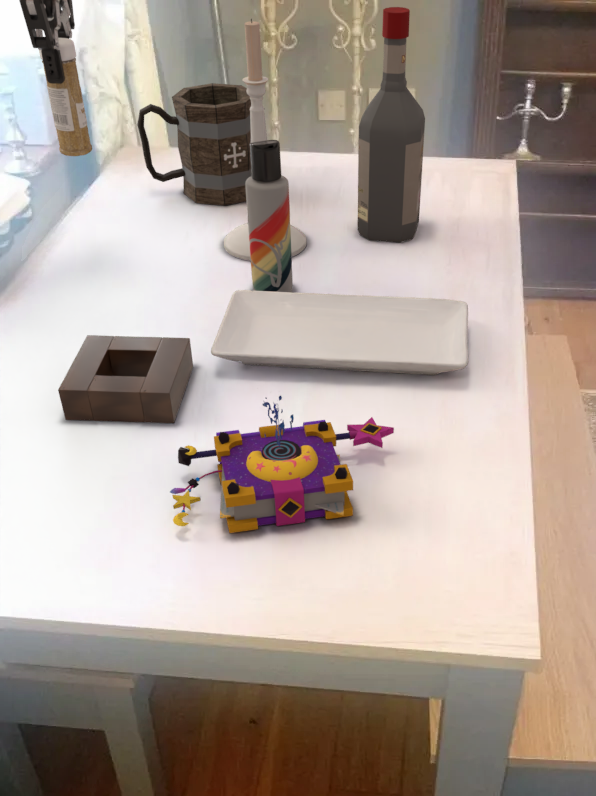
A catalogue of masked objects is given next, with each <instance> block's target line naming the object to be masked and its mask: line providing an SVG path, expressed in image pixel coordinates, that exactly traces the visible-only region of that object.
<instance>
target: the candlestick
mask: <svg viewBox="0 0 596 796" xmlns="http://www.w3.org/2000/svg"><path fill="white" fill-rule="evenodd" d="M244 36H245V51H246V54H245V55H246V65H247V66H246V67H247V69H246V70H247V76H245V77H243V78H242V82H243V83H244V84H245V85H246V88H247V90H246V92H247V94H248V95H249V96H250V100H251V107H250V124H251V143H253V142H260V141H266V140H268V133H267V123H266V113H265V107H264V103H263V99H264V95H265V94H266V87H265V86H266V83H267V82H268V81H269V78H268V77H267V76H263V63H262V46H261V45H262V44H261V26H260V22H259V21H253V18H251V19H250V21H246V22H244ZM290 230H291V255H292V257H295V256H297V255H298V254H300V253H302V252H303V251H304V250H305V248H306V247H307V236H306V235H305V233H304V232H303V231H302V230H300V229H299V228H298V227H296V226H295V225H292V224H290ZM223 247H224V250H225V252H227V254H229V256H233V257H235V258H237V259H239V260H244V261H249V262H251V257H250V243H249V229H248V222H246V223H245V222H244V223H243V224H241V225H238V226H236V227H234V228H233V229H231V230H230V231H229V232H228V233H227V235H225V237H224V239H223Z"/></svg>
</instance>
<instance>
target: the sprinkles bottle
mask: <svg viewBox="0 0 596 796" xmlns="http://www.w3.org/2000/svg"><path fill="white" fill-rule="evenodd" d="M58 40H59V50H60V54H61V59H62V65H63V70H64V76H65V81H64V82H63V83H62V84H53V83H49V82H48V81H47V78H46V73H45V68H44V63H43V58H42V53H41V50H39V49H38V52H39V53H38V54H39V58H40V59H41V63H42V65H43V70H44V76H45V81H46V88H47V94H48V99H49V104H50V109H51V113H52V118H53V123H54V128H55V130H56V135H57V140H58V145H59V148H58V149H59V153H60V154H62V155H63V156H66V157H81V156H86V155H88V154H90V153H91V152H92V151H93V145H92V144H91V137H90V133H89V127H88V119H87V114H86V108H85V103H84V98H83V97H84V96H83V92H82V87H81V84H80V79H79V73H78V67H77V50H76V46H75V42H74V40H72V38H69V39H68V38H58Z"/></svg>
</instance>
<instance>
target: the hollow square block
mask: <svg viewBox="0 0 596 796" xmlns="http://www.w3.org/2000/svg"><path fill="white" fill-rule="evenodd" d="M193 369H194V361H193V354H192V344H191V338H190V337H167V336H166V337H164V336H132V335H130V336H129V335H99V334H98V335H97V334H93V335H92V334H87V335H86V337H85V339H84V340H83V343H82V344H81V346H80V348H79V350H78V351H77V354H76V355H75V356H74V359H73V361H72V363H71V365H70V367H69V369H68V370H67V373H66V374H65V376H64V378H63V380H62V382H61V384H60V385H59V388H58V389H57V391H58V395H59V399H60V403H61V407H62V412H63V415H64V419H65V420H66V421H88V422H90V421H92V422H94V421H95V422H115V423H116V422H119V423H154V424H174V423H175V422H176V418H177V416H178V413H179V410H180V407H181V404H182V401H183V398H184V395H185V392H186V390H187V387H188V384H189V381H190V378H191V375H192V372H193Z"/></svg>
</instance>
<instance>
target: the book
mask: <svg viewBox="0 0 596 796" xmlns="http://www.w3.org/2000/svg"><path fill="white" fill-rule="evenodd" d="M267 398H268V397H265V400H267ZM282 398H283V397H282V395H279V396H278V401H279V402H280V401H281V400H282ZM272 403H273V407H272V408H273V410H272V408H271V404H270V402H268V401H264V400H263V403H262V404H261V405H262V406H263V407H264V408H267V416H268V418H269V420H270V424H271V425H266V426H258V431H254V432H253V431H252V432H245V433H241V432H240V430H239V429H235V430H234V429H233V430H226V431H217V432H216V433H215V436H213V442H214V443H213V444H214V449H209V450H201V451H198V449H197V448H196V447H195V446H193V445H188V444H187V445H186V446H184V447H183V446H180V447H179V448H178V449H177V461H178V462H177V463H178V464H180V465H183V466H187V467H190V466H191V464H192V460H196V459H202V458H211V457H216V459H217V462H218V463H217V464H216V466H217V470H213V471H210V472H208V473H204V474H203V475H202V476H199V477H198V476H196V477H195V478H191V479H189V480H188V481H187V484H188V485H187V486H186V487H185V488H184V487H173V488H172V489H171V490H170V491H169V493H171V494H172V499H173V500H175V501H176V502H175V503H174V504H173V505H172V506H173V510H175V509H179V508H182V510H181V512H178V513H177V514H175V515H174V516H173V519H172V521H173V524H174V525H176V526H178V527H186V526H188V525H189V524H190V522H185V521H184V520H183V519H184V518H186V517H187V516H189V515H190V514H189V513H187V512H186V510H185V509H186V508H187V509H188V510H190V511H192V505H191V504H194V503H198V502H200V501H201V496H191V495H190V493H192V489H195V488H197V487H198V486H199V485H200V484H199V481H200V480H201V479H203V478H204V477H206V476H209V475H213V474H216V473H218V479H219V483H220V508H219V519H225V518H226V519H225V520H226V523H227V528H228V534H233V533H240V532H247V531H253V530H254V531H255V530H259V526H265V525H272V524H275V526H276V527H280V526H286V525H294V524H301V523H305V522H306V520H308V519H314V518H323V517H325V520H332V519H338V518H346V517H353V516H354V507H353V505H352V502H351V499H350V496H349V494H348V492H350V491H354V479H353V477H352V474H351V471H350V469H349V466H348V464H347V463H345V464H341V455H340V454H338V453H336V449H335V447H337V441H344V440H350V441H351V440H353V441H352V447H357V446H361V445H364V444H371V445H373V446H375V447H379V448H381V449H383V447H384V444H383V443H384V442H383V438H386V437H387V436H390V435H393V434H394V433H395V427H394V426H385V425H377V423H376V422H375V419H374V418H373V416H371V417H370V418H369V419H368V420H366V421H365V422H364V423H363V424H361V423H359V424H347V425H346V431H348V432H341V433H336V432H335V430H334V427H333V425H332V422H330V421H326V419H320V420H313V421H303V423H302V425H301V426H293V423H294V419H295V418H294V417H295V416H294V414H291V415H290V417H289V418H290V421H289V424H290V427H285V426H286V425H285V421H284V419H282V422H281V423H280V420H279V411H280V407H279V403H275V402H274V401H273V402H272ZM276 407H277V408H276ZM270 411H271V414H272V415H274V416H273V417H271V416H270ZM280 414H283V409H281V412H280ZM273 423H274V425H273ZM183 493H184V494H183ZM180 494H182V495H180Z"/></svg>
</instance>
